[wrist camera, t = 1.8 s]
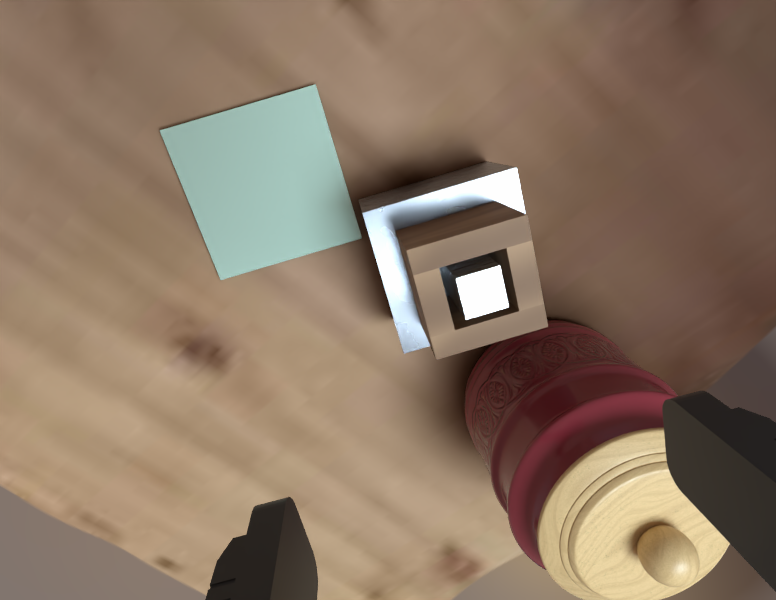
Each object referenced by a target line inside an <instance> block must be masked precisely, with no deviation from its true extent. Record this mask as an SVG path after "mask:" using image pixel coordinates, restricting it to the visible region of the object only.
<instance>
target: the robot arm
mask: <svg viewBox="0 0 776 600" xmlns="http://www.w3.org/2000/svg"><path fill="white" fill-rule="evenodd" d="M662 412H663V424H664V436H665V448H666V460H667V465H668V469H669V471H670V474H671V476H672V478H673V480H674V482H675V484H676V485H677V487H678V488H679V490H680V491H681V492H682V493H683V494H684V495H685V496H686V497H687V498H688V499H689V500H690V502H691V503H692V504H693V505H694V506H695V507H696V508H697V509H698V510H699V511H700V512H701V513H702V514H703V515H704V516H705V517H706V518H707V520H708V521H709V522H710V523H711V524H712V525H713V526H714V527H715V528H716V529H717V530H718V531H719V532H720V533H721V534H722V535H723V536H724V538H725V539H726V540H727V541H728V542H729V543H730V544H731V545H732V546H733V547H734V548H735V549H736V550H737V551H738V552H739V553H740V554H741V556H742V557H743V558H744V559H745V560H746V561H747V562H748V563H749V564H750V565H751V566H752V567H753V568H754V569H755V570H756V571H757V572H758V574H759V575H760V576H761V577H762V578H763V579H765V581H766V582H767V583H768V584H769V585H770V586H771V587H772V588H773V589H774V590H775V591H776V423H775V422H774V421H772V420H771V419H769V418H767V417H764V416H761V415H758V414H756V413H753V412H750V411H747V410H745V409H742V408H739V407H738V408H735V409H730V408H729V407H728V406H726V405H724V404H723V403H722V402H721V401H719V400H718V399H716V398H715V397H713V396H712V395H710V394H709V393H707V392H705V391H698V392H694V393H690V394H686V395H682V396H678V397H675V398H671V399H667V400H665V401H664V403H663V407H662ZM317 590H318V576H317V567H316V561H315V557H314V554H313V551H312V548H311V545H310V543H309V540H308V537H307V535H306V532H305V529H304V527H303V524H302V521H301V519H300V516H299V513H298V511H297V508H296V505H295V503H294V501H293V499H292V498H291V497H287V498H284V499H280V500H276V501H272V502H268V503H265V504H261V505H257V506H255V507H254V508H253V511H252V514H251V518H250V523H249V527H248V531H247V535H243V536H240V537H236V538H233V539H232V541H231V542H230V543H229V545H228V546H227V548H226V549H225V551H224V552H223V553H222V555H221V556H220V558H219V559H218V560H217V563H216V566H215V570H214V573H213V576H212V580H211V583H210V589H209V590H208V593H207V596H206V600H317Z"/></svg>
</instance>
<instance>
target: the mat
mask: <svg viewBox="0 0 776 600" xmlns="http://www.w3.org/2000/svg"><path fill="white" fill-rule="evenodd" d="M160 133H161V135H162V138H163V140H164V143H165V145H166V148H167V150H168V152H169V155H170V157H171V160H172V162H173V165H174V167H175V170H176V172H177V174H178V177H179V179H180V182H181V184H182V187H183V189H184V192H185V194H186V196H187V199H188V201H189V204H190V206H191V209H192V211H193V214H194V216H195V219H196V221H197V223H198V226H199V228H200V231H201V233H202V236H203V238H204V241H205V243H206V245H207V248H208V250H209V253H210V255H211V258H212V260H213V263H214V265H215V267H216V270H217V272H218V275H219V277H220V280H223V279H226V278H230V277H233V276H236V275H240V274H243V273H246V272H250V271H253V270H256V269H260V268H263V267H267V266H270V265H273V264H277V263H280V262H283V261H287V260H290V259H294V258H297V257H300V256H304V255H307V254H310V253H314V252H317V251H321V250H324V249H327V248H331V247H334V246H337V245H341V244H344V243H348V242H351V241H354V240H358V239H361V238H362V236H361V233H360V230H359V226H358V223H357V220H356V216H355V213H354V210H353V206H352V203H351V200H350V197H349V193H348V190H347V187H346V183H345V180H344V177H343V173H342V170H341V167H340V163H339V160H338V157H337V153H336V150H335V147H334V143H333V140H332V137H331V134H330V130H329V127H328V124H327V120H326V117H325V114H324V110H323V107H322V104H321V100H320V97H319V94H318V90H317V87H316V84H315V85H312V86H308V87H305V88H301V89H298V90H295V91H291V92H288V93H285V94H281V95H278V96H274V97H271V98H268V99H264V100H261V101H258V102H254V103H251V104H247V105H244V106H241V107H237V108H234V109H231V110H227V111H224V112H220V113H217V114H214V115H210V116H207V117H204V118H200V119H197V120H193V121H190V122H187V123H183V124H180V125H177V126H173V127H170V128H166V129H163V130H160Z"/></svg>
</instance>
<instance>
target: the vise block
mask: <svg viewBox="0 0 776 600" xmlns="http://www.w3.org/2000/svg"><path fill="white" fill-rule="evenodd" d="M358 201H359V204H360V207H361V211H362V214H363V217H364V221H365V224H366V228H367V231H368V234H369V238H370V241H371V244H372V248H373V251H374V255H375V258H376V261H377V265H378V268H379V271H380V275H381V278H382V281H383V285H384V288H385V292H386V295H387V298H388V302H389V305H390V308H391V312H392V315H393V319H394V322H395V325H396V329H397V332H398V335H399V339H400V342H401V345H402V349H403V352H404V353H408V352H411V351H414V350H418V349H421V348H425V347H428V346H430V344H429V342H428V339H427V337H426V335H425V332H424V330H423V328H422V326H421V322H420V319H419V315H418V311H417V308H416V304H415V301H414V297H413V293H412V290H411V286H410V283H409V279H408V275H407V272H406V268H405V265H404V261H403V257H402V254H401V250H400V247H399V243H398V239H397V236H396V232H395V231H397V230H400V229H404V228H407V227H410V226H414V225H417V224H421V223H424V222H427V221H431V220H434V219H437V218H441V217H444V216H448V215H451V214H454V213H458V212H461V211H464V210H468V209H471V208H475V207H478V206H481V205H485V204H488V203H491V202H495V201H497V202H500V203H502V204H504V205H507V206H509V207H511V208H513V209H516V210H518V211H520V212H523V213H525V209H524V203H523V198H522V193H521V187H520V182H519V177H518V171H517V167H512V166H507V165H502V164H497V163H492V162H483V163H480V164H477V165H473V166H470V167H467V168H463V169H460V170H456V171H453V172H450V173H446V174H443V175H440V176H436V177H433V178H429V179H426V180H423V181H419V182H416V183H413V184H409V185H406V186H402V187H399V188H396V189H392V190H389V191H386V192H382V193H379V194H375V195H372V196H369V197H365V198H362V199H359V200H358ZM439 270H440V274H441V278H442V281H443V285H444V289H445V293H446V297H447V296H450V297H451V298H452V300H453V301H454V303H455V304H456V306H457V307H458V309H459V310H460V312H461V313H462V315H463V316H464V317H465V319H466V320H467V319H470V318H474V317H477V316H480V315H484V314H487V313H491V312H494V311H497V310H501V309H504V308H507V307H509V305H508V301H507V296H506V291H505V286H504V282H503V277H502V272H501V268H500V265H499V264H498V263H496V262H495V261H494V260H493V259H491V258H490V257H489V256H488V255H487V254H485V255H481V256H478V257H474V258H471V259H468V260H464V261H461V262H458V263H454V264H451V265H447V266H444V267H441V268H439Z"/></svg>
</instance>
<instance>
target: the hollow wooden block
mask: <svg viewBox="0 0 776 600" xmlns="http://www.w3.org/2000/svg"><path fill="white" fill-rule="evenodd" d="M395 232H396V236H397V239H398V243H399V247H400V250H401V254H402V257H403V261H404V265H405V268H406V272H407V275H408V279H409V283H410V286H411V290H412V293H413V297H414V301H415V304H416V308H417V311H418V315H419V319H420V322H421V326H422V328H423V330H424V332H425V335H426V337H427V339H428V342H429V344H430V346H431V349H432V351H433V353H434V356H435V358H436V360H438V359H441V358H445V357H448V356H451V355H455V354H458V353H461V352H465V351H468V350H472V349H475V348H478V347H482V346H485V345H488V344H492V343H495V342H499V341H502V340H505V339H509V338H512V337H515V336H519V335H522V334H525V333H529V332H532V331H536V330H539V329H542V328H546V327H548V323H547V317H546V312H545V306H544V301H543V296H542V290H541V285H540V280H539V274H538V269H537V264H536V258H535V253H534V248H533V242H532V237H531V231H530V226H529V221H528V215H527V214H525V213H523V212H520V211H518V210H516V209H513V208H511V207H509V206H507V205H504V204H502V203H500V202H497V201H495V202H491V203H488V204H485V205H481V206H478V207H475V208H471V209H468V210H464V211H461V212H458V213H454V214H451V215H448V216H444V217H441V218H437V219H434V220H431V221H427V222H424V223H421V224H417V225H414V226H410V227H407V228H404V229H400V230H397V231H395ZM485 254H487V255H488V256H489V257H490V258H491V259H493V260H494V261H495V262H496V263H498V264H499V265H500V268H501V272H502V277H503V282H504V286H505V291H506V296H507V301H508V305H509V307H507V308H504V309H501V310H497V311H494V312H491V313H487V314H484V315H480V316H477V317H474V318H470V319H467V320H466V319H465V317H464V316H463V315H462V313H461V312H460V310H459V309H458V307H457V306H456V304H455V303H454V301H453V300H452V298H451V297H450V296H447V297H446V293H445V289H444V285H443V281H442V278H441V274H440V270H439V268H441V267H444V266H447V265H451V264H454V263H458V262H461V261H464V260H468V259H471V258H474V257H478V256H481V255H485Z"/></svg>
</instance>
